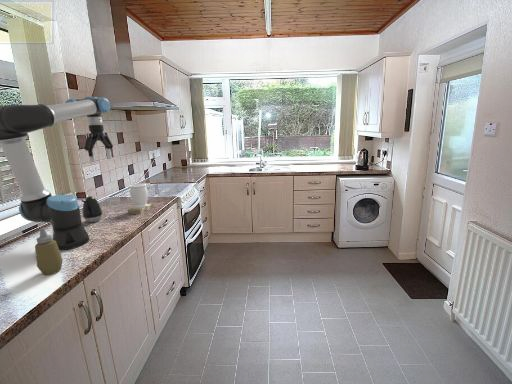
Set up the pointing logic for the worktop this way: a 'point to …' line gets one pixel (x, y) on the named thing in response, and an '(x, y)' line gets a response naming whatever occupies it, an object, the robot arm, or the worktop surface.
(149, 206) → the birch trivet
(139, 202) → the white cup
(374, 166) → the worktop surface
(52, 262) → the squeeze bottle
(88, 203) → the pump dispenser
